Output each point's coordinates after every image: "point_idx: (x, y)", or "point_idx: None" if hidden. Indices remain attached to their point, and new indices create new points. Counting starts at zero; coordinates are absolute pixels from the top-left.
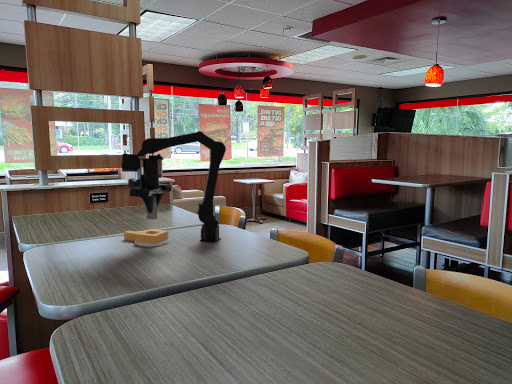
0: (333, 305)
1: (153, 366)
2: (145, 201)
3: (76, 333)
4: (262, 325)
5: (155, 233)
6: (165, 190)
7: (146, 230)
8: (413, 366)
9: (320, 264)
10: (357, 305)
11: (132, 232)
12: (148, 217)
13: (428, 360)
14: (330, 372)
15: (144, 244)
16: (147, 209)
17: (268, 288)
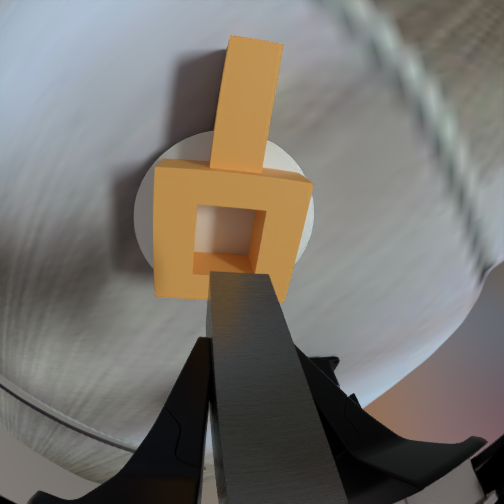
0: (102, 468)
1: None
2: (152, 454)
3: None
4: (37, 439)
5: (258, 240)
6: (483, 453)
7: (268, 181)
8: (67, 468)
9: (204, 473)
10: (114, 474)
11: (238, 90)
12: (208, 297)
13: (77, 472)
14: (33, 449)
15: (135, 233)
16: (186, 364)
17: (95, 452)
